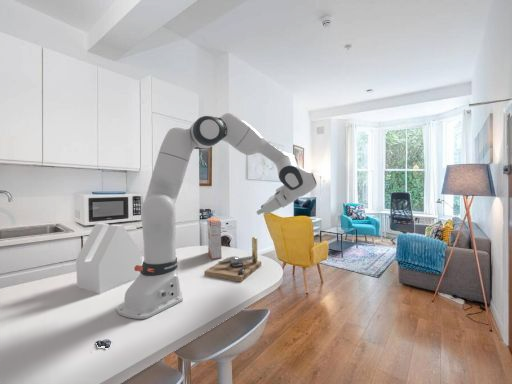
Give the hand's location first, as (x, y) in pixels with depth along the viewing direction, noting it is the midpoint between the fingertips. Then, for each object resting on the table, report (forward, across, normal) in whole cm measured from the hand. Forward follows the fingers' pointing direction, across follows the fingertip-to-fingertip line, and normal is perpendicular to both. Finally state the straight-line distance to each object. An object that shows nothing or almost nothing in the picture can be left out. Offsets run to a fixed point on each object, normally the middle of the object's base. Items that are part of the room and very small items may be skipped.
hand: (259, 210), depth 123 cm
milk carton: (+64, +31, -10) cm, 72 cm away
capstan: (+22, +6, +17) cm, 28 cm away
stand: (+25, +8, +18) cm, 31 cm away
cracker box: (+42, -13, +11) cm, 45 cm away
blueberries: (+35, +68, +1) cm, 77 cm away
